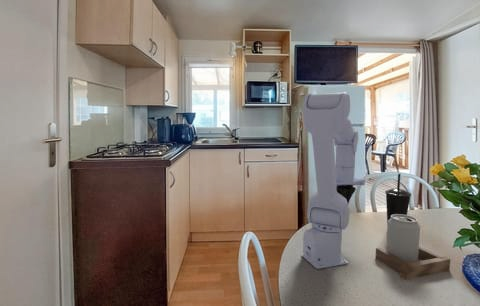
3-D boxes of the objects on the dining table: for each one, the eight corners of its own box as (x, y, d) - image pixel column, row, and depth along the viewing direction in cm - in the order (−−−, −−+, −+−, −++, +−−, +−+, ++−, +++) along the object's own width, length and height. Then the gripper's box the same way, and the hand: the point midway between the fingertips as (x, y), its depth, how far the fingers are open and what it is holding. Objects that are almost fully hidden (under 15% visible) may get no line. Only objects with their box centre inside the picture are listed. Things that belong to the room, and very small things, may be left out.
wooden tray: (405, 279, 66) (406, 267, 66) (372, 259, 76) (373, 248, 76) (449, 270, 70) (450, 259, 70) (412, 252, 80) (413, 242, 80)
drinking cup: (412, 237, 91) (416, 176, 89) (386, 235, 92) (390, 175, 90) (403, 228, 98) (407, 172, 96) (380, 227, 100) (383, 171, 98)
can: (424, 268, 72) (427, 222, 70) (393, 267, 72) (396, 221, 71) (407, 254, 79) (410, 212, 78) (380, 253, 79) (382, 212, 78)
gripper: (355, 163, 95) (353, 203, 96) (317, 165, 91) (316, 206, 92) (370, 166, 88) (368, 209, 90) (331, 168, 84) (329, 213, 85)
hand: (343, 208), depth 90 cm, fingers closed
